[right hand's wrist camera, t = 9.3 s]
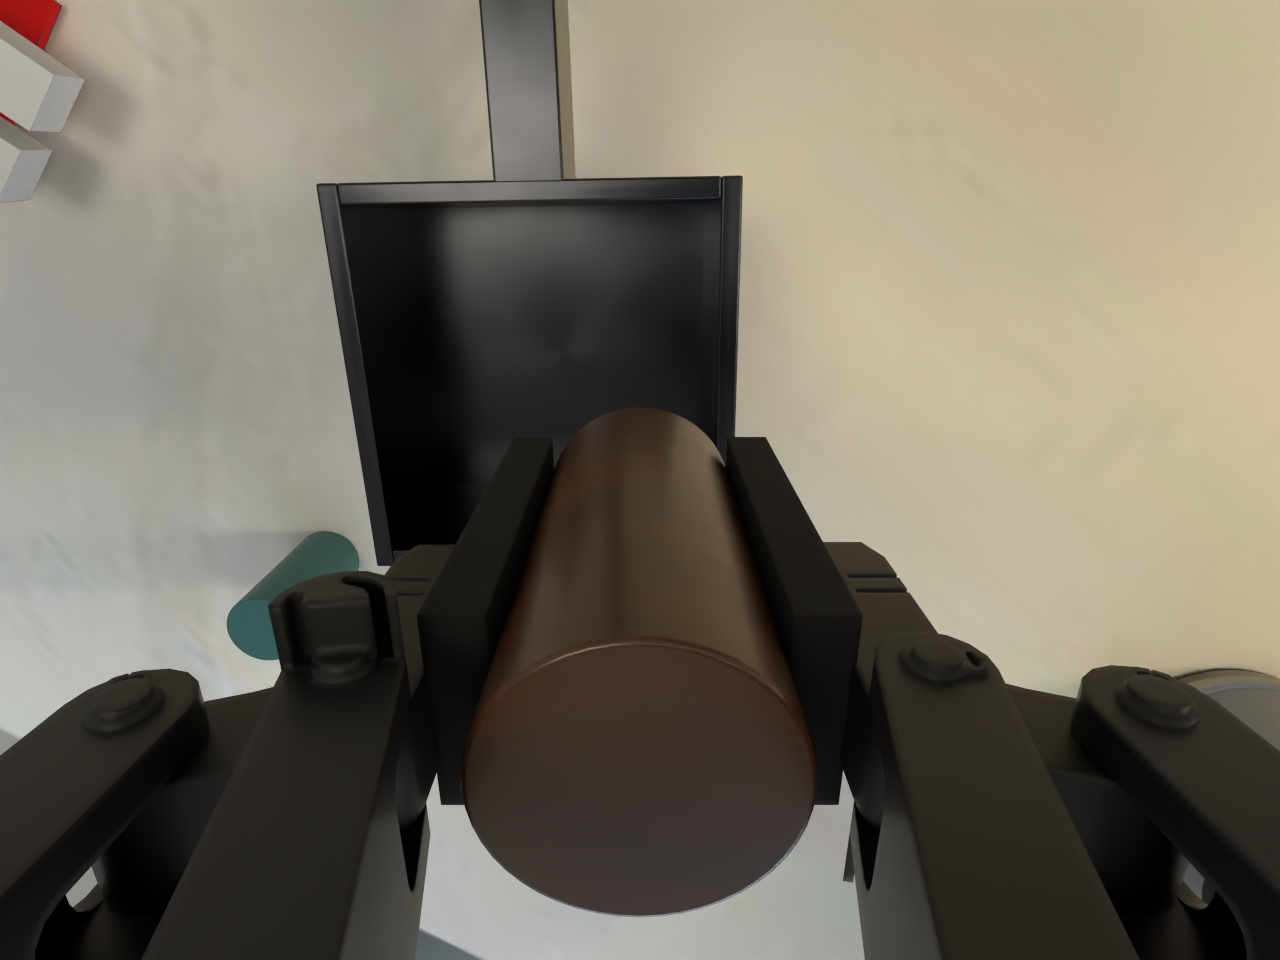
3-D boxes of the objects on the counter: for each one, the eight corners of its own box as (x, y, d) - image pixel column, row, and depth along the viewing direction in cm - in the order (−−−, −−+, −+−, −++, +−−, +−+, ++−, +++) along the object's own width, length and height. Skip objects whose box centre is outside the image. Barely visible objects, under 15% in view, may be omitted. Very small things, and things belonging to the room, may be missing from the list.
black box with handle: (729, -387, 21) (768, -662, 15) (712, 488, 31) (731, 562, 24) (324, -376, 21) (181, -645, 15) (434, 492, 31) (376, 566, 24)
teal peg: (354, 530, 42) (291, 598, 35) (363, 584, 44) (304, 660, 36) (294, 531, 42) (218, 599, 35) (305, 584, 44) (234, 661, 36)
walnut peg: (732, 406, 14) (838, 639, 6) (723, 569, 15) (804, 920, 8) (548, 406, 14) (441, 639, 6) (556, 569, 15) (474, 920, 8)
